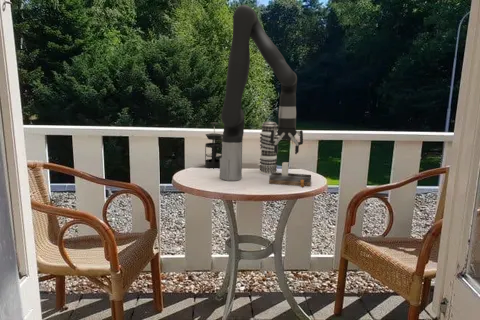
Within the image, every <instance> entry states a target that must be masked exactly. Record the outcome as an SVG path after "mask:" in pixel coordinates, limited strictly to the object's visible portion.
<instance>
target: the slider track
mask: <svg viewBox="0 0 480 320" xmlns="http://www.w3.org/2000/svg"><path fill="white" fill-rule="evenodd" d="M280 175H282V172H278V171H276V172H271V175H269V180H268V184H270V185H281V186H282V185H284V186H298V187H300V188H304V187H308V188H309V187H311V184H312V183H311V182H312V175H311V174H304V173H291V172H290V173H289V172H288V175H290V176H280Z"/></svg>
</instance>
